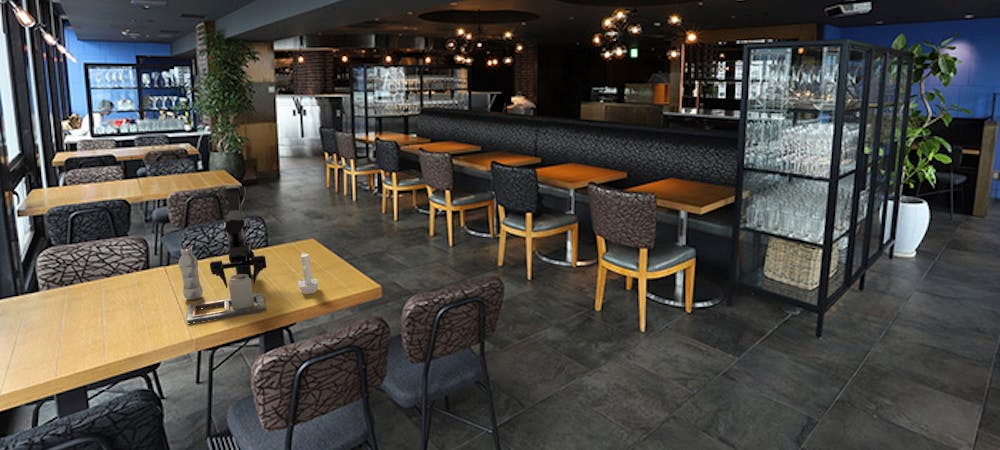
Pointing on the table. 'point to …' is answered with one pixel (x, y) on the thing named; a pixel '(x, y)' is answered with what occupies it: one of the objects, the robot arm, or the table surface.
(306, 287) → the figurine
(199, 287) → the plastic bottle
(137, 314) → the table surface
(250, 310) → the rail plate
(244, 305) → the can
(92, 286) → the table surface
